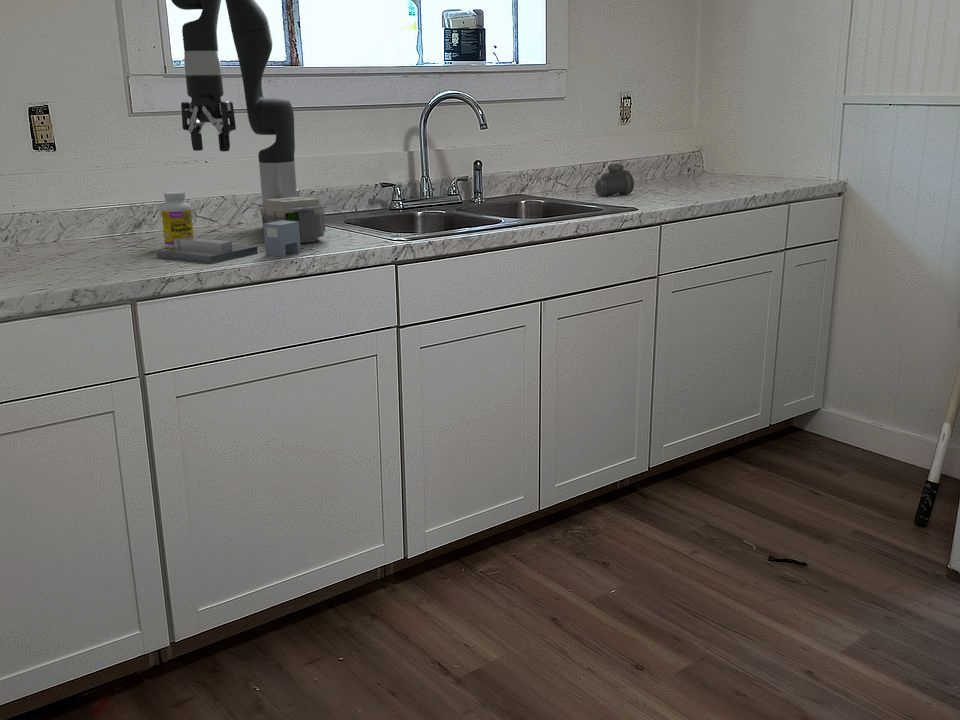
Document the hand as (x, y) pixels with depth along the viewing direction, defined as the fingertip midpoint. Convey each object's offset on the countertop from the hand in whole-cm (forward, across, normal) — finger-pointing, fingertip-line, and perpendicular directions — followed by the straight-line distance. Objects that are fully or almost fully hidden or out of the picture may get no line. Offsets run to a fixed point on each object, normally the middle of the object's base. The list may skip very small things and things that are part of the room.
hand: (211, 150), depth 202 cm
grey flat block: (+23, +1, +3) cm, 23 cm away
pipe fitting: (+23, -32, -138) cm, 144 cm away
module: (+23, -13, -7) cm, 27 cm away
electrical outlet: (+23, +1, -24) cm, 33 cm away
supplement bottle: (+23, +16, -2) cm, 28 cm away
